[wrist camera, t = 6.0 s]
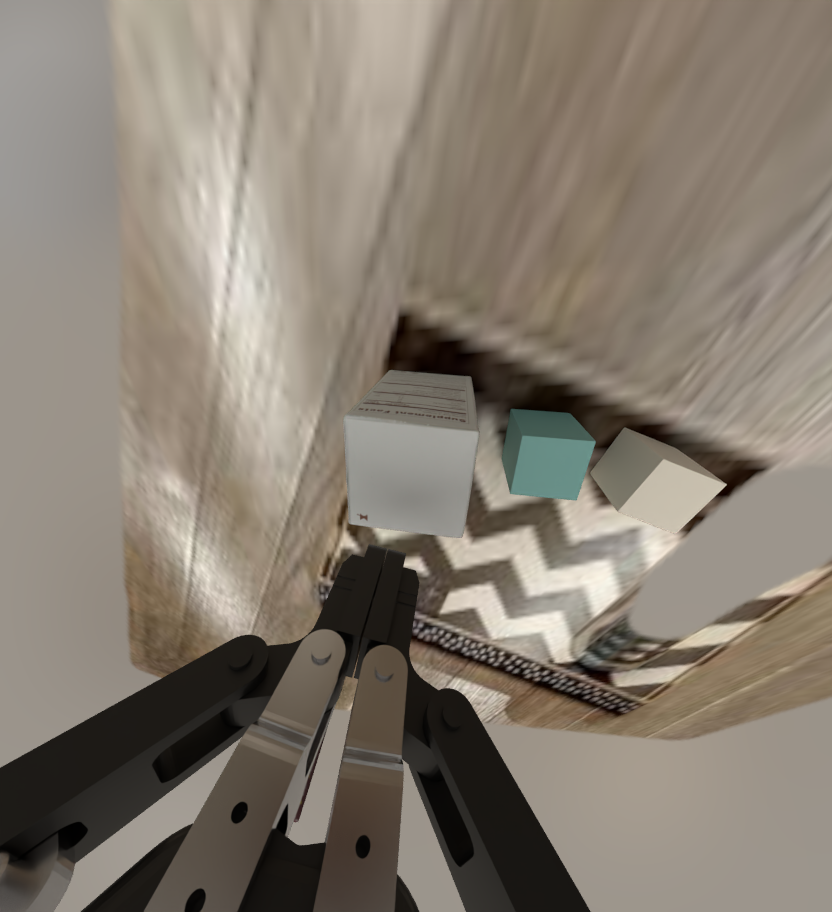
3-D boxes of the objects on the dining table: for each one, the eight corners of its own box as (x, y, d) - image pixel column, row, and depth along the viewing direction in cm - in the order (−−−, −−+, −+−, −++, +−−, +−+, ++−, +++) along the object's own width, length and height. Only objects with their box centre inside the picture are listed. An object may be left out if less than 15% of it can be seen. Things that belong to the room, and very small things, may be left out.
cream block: (624, 427, 27) (663, 459, 22) (675, 447, 27) (726, 484, 22) (589, 472, 30) (617, 511, 24) (637, 491, 30) (675, 534, 24)
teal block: (510, 408, 28) (522, 435, 22) (569, 412, 27) (595, 441, 22) (501, 458, 30) (510, 493, 25) (555, 463, 30) (576, 500, 24)
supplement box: (462, 451, 30) (463, 544, 19) (386, 442, 31) (344, 527, 20) (474, 374, 27) (483, 431, 16) (388, 366, 27) (338, 415, 16)
